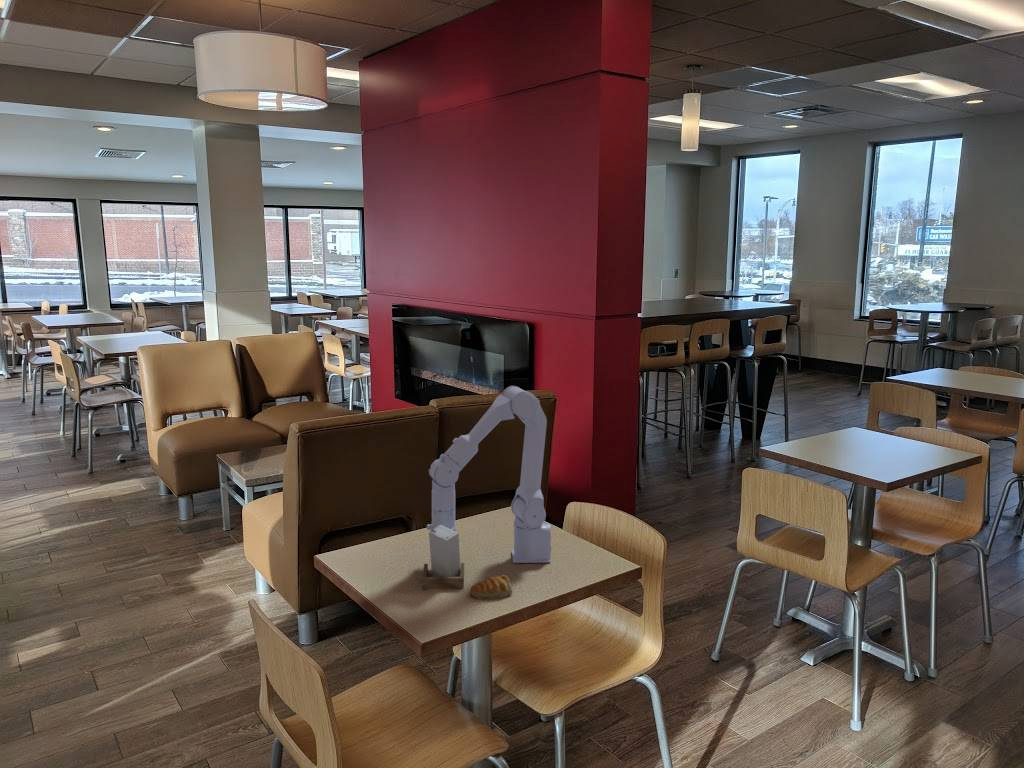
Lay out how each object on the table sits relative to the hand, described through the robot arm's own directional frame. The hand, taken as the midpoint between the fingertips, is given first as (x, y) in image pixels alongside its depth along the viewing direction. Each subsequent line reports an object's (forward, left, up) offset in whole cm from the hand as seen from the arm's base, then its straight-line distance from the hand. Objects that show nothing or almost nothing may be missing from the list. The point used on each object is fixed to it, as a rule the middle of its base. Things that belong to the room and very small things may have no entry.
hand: (443, 561), depth 183 cm
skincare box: (-1, +5, -1) cm, 5 cm away
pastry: (-12, +14, -2) cm, 19 cm away
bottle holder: (0, +7, -2) cm, 7 cm away
